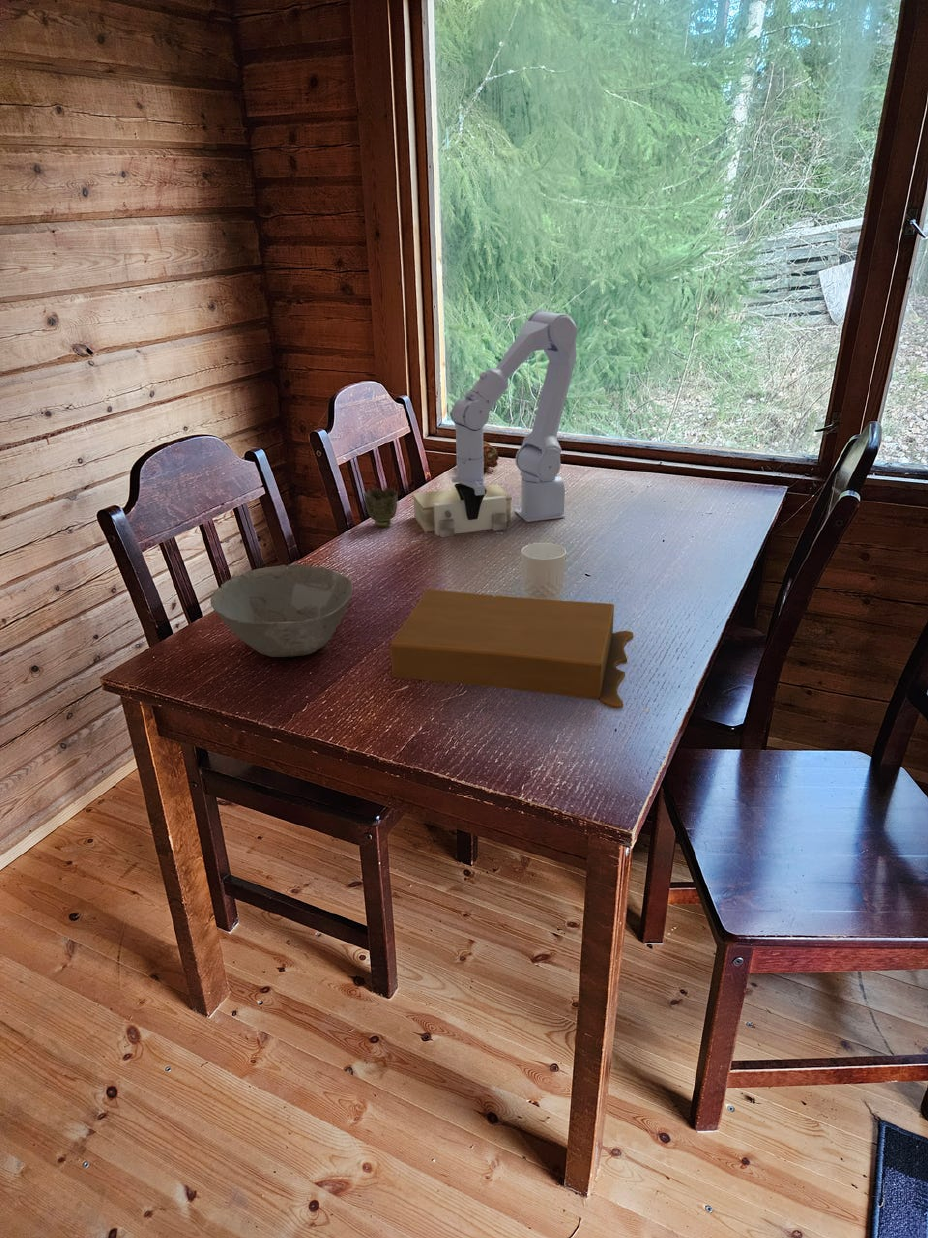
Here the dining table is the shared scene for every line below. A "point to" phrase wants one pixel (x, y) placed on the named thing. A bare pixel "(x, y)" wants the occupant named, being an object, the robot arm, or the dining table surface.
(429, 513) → the cabinet
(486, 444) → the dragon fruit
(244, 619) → the ceramic bowl
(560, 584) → the white cup
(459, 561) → the dining table surface
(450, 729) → the dining table surface
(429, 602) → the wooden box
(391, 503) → the cup
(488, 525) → the door
